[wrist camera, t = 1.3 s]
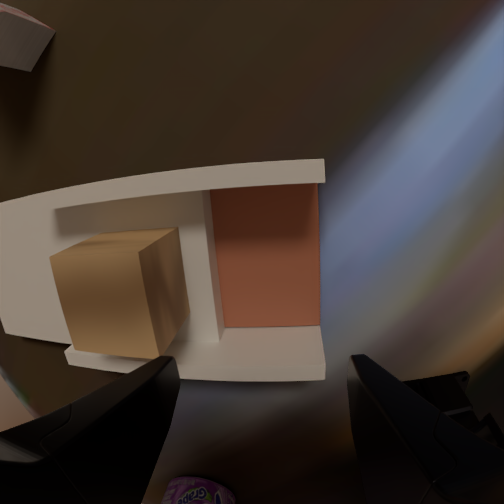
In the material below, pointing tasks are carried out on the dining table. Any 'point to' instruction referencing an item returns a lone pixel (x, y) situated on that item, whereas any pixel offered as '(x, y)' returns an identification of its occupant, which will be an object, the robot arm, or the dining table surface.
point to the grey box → (21, 38)
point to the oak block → (123, 291)
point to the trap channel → (189, 264)
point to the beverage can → (196, 492)
